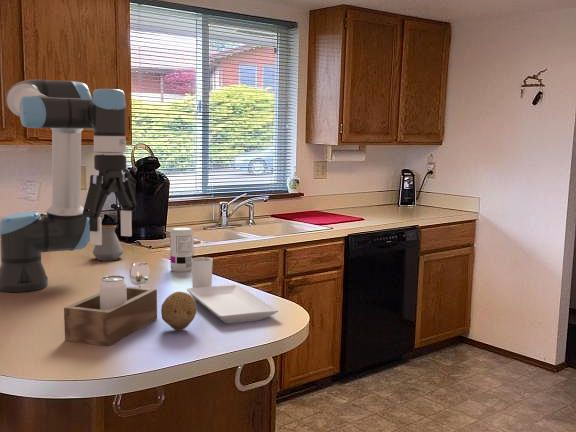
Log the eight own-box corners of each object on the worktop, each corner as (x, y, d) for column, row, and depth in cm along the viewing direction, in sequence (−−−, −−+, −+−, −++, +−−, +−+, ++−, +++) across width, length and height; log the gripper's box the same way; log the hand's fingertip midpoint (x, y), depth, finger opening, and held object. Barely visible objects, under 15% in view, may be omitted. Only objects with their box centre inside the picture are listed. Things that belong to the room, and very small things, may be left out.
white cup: (196, 294, 193) (196, 262, 192) (188, 289, 199) (187, 258, 197) (216, 291, 197) (216, 260, 195) (207, 287, 202) (207, 256, 201)
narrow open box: (64, 340, 149) (63, 307, 148) (117, 314, 171) (116, 285, 170) (109, 346, 145) (108, 312, 144) (157, 318, 167) (156, 289, 166)
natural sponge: (195, 336, 153) (195, 296, 152) (158, 336, 153) (158, 296, 151) (197, 325, 162) (197, 287, 161) (162, 325, 162) (162, 287, 160)
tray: (238, 294, 196) (238, 283, 195) (279, 322, 167) (279, 309, 167) (185, 299, 188) (185, 287, 188) (219, 329, 160) (219, 316, 160)
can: (119, 329, 154) (118, 282, 153) (95, 327, 156) (94, 280, 154) (131, 322, 161) (130, 276, 159) (108, 319, 162) (107, 274, 160)
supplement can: (166, 271, 224) (165, 229, 222) (178, 266, 232) (178, 226, 230) (185, 273, 221) (185, 231, 219) (197, 268, 229) (197, 228, 227)
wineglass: (140, 308, 176) (139, 266, 175) (125, 305, 179) (124, 264, 178) (154, 304, 181) (154, 263, 180) (140, 300, 184) (139, 260, 183)
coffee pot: (127, 260, 242) (127, 221, 240) (97, 262, 236) (96, 223, 234) (110, 250, 260) (109, 214, 258) (82, 253, 254) (81, 216, 252)
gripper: (94, 155, 139) (96, 249, 142) (149, 152, 163) (150, 233, 166) (65, 154, 141) (67, 247, 144) (123, 152, 165) (125, 231, 168)
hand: (111, 240), depth 155 cm, fingers open, 13 cm apart
